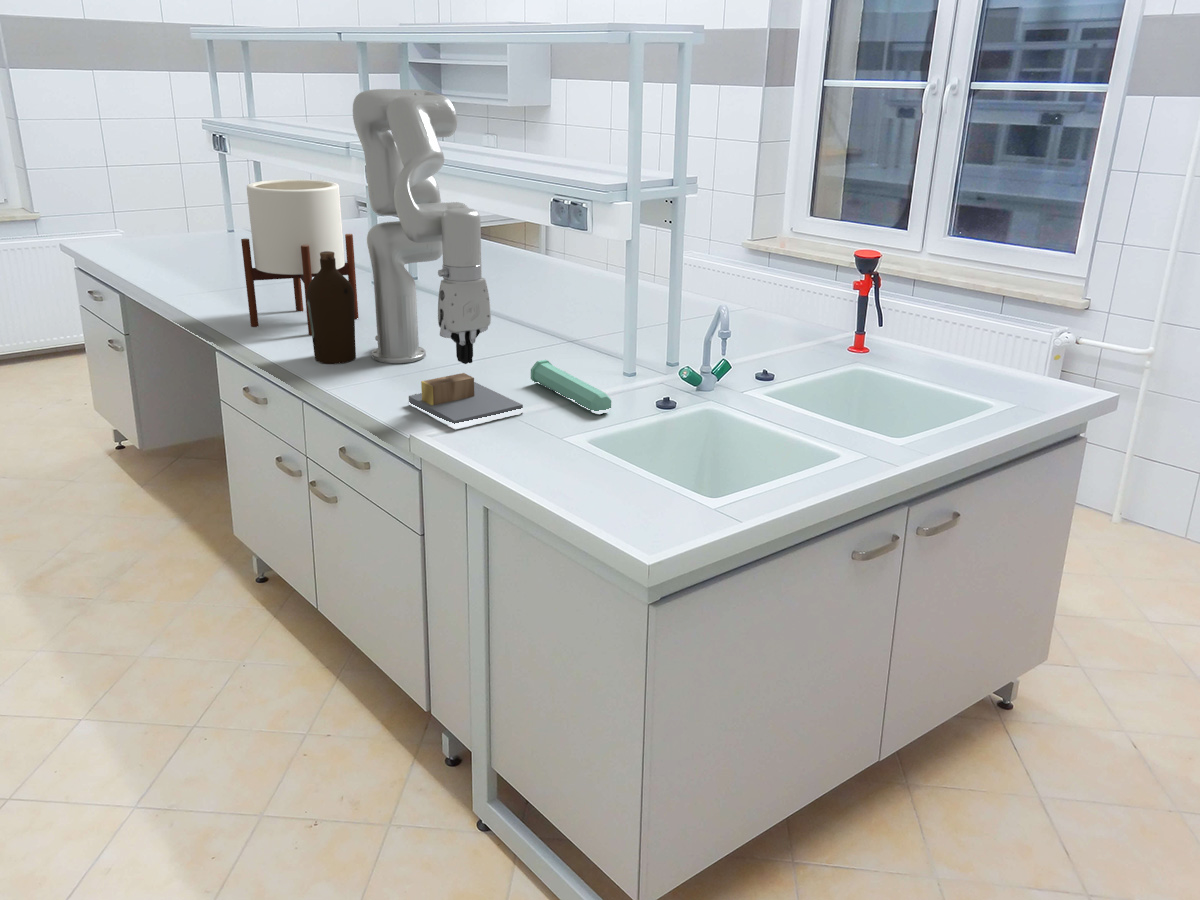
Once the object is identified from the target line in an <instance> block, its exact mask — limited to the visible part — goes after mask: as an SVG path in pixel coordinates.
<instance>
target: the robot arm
mask: <svg viewBox="0 0 1200 900" xmlns="http://www.w3.org/2000/svg"><path fill="white" fill-rule="evenodd" d="M352 120H353V125H354V128H355V130H356V134H357V136H358V139H359V141H360V144H361V147H362V150H363V154H364V161H365V172H366V173H365V174H366V182H367V190H368V197H369V203H370V204H369V205H370V207H371V209H372V211H373V213H375V214H377V215H380V216H385V217H386V216H393V217H394V216H398V219H399V221H387V222H381V223H377V224H375V225H373V226H371V228H370V229H369V230H368V232H367V234H366V244H367V250H368V253H369V259H370V263H371V268H372V269H371V270H372V277H373V278H372V279H373V289H374V290H373V291H374V304H375V318H376V319H375V321H376V333H377V334H376V336H375V338H374V339H375V341H377V348H374V350H372V351H371V357H372V359H373V360H375V361H377V362H380V363H385V364H407V363H408V364H409V363H413V362H417V361H420V360H422V359H424V358H425V357H426V349H425V348H423V347H422V346H419V345H420V344H419V327H418V322H419V321H418V303H417V287H416V286H417V284H416V280H415V279H414V277H413V276H412V274H411V273H410V272H409V271H408V270H407V269H406V268H405V265H407V264H414V263H424V262H425V263H426V262H433V261H436V260H438V259H440V258H441V257H442V268H441V269H438V271H437V275H438V277H442V278H443V279H441V280H440V284H439V292H438V298H437V300H438V301H437V321H438V322H437V323H438V327H439V328H440V329H439V336H440V337H442V338H446V339H451V340H452V341H453V342H454V343H455V348H456V359H457V361H458V362H460V363H462V364H464V365H467V364H472V363H473V357H474V344H475V343H476V340H477V338H478V336H480V334H482V333H484V332H486V331H488V330H489V326H490V325H491V322H492V321H491V320H492V314H491V313H492V312H491V302H490V301H491V299H490V294H489V289H488V283H487V281H486V278H485V277H483V275H482V234H481V232H482V231H481V230H482V229H481V215H480V213H479V212H478V211H477V210H476V209H473V208H470V207H469V206H468V205H466V204H465V203H463V202H459V201H458V202H457V201H456V202H454V201H453V202H452V201H451V202H442V201H441V192H440V188H439V185H438V183H437V180H436V178H435V177H434V175H436V174H437V173H438V172H439V171H440V170H441V169H442V167H443V166H444V163H445V156H444V153H443V150H442V148H441V144H440V141H439V139H438V138H449V137H451V136H453V135H454V134H455V133H456V131H457V128H458V115H457V112H456V108H455V106H454V105H453V103H452V101H451V100H450V99H449V98H448V97H447V96H445V95H443V94H440V93H437V92H434V91H432V90H427V89H409V88H408V89H396V88H395V89H393V88H377V89H368V90H363V91H361V92H359V93H358V94H357V95H355V97H354V100H353V102H352ZM390 131H391V132H390Z"/></svg>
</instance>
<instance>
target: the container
mask: <svg viewBox="0 0 1200 900" xmlns="http://www.w3.org/2000/svg"><path fill="white" fill-rule="evenodd" d="M530 380H532V382H533V381H534V383H535V382H539V383H540V385H541V384H542V385H541V386H543V385H544V386H546V387H548V388H550V389H552V390H554V391H556V392H558V393H560V394H561V395H563V396H565V397H567V398H570V399H573V400H575V402H577V403H578V404H580V405H582V406H584V407H586V408H588V409H590V410H594V411H599V410H606V409H609V408H611V409H612V399H611V397H610V396H609V395H608V394H607V393H606V392H604V391H602V390H600V389H598V388H596V387H595V386H592V385H591V384H589V383H587V382H585V381H583V380H581V379H579V378H578V377H575V376H573V375H571V374H569V373H568V372H566V371H564V370H562V369H560V368H558V367H557V366H554V365H553V364H552V363H551V362H550V361H549V360H548V359H541V360H537V361H536V362H535V363H534V364H533V365H532V367H531V368H530ZM544 386H543V387H544ZM546 387H545V388H546ZM548 388H547V389H548ZM550 389H549V390H550ZM552 390H551V391H552Z"/></svg>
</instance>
